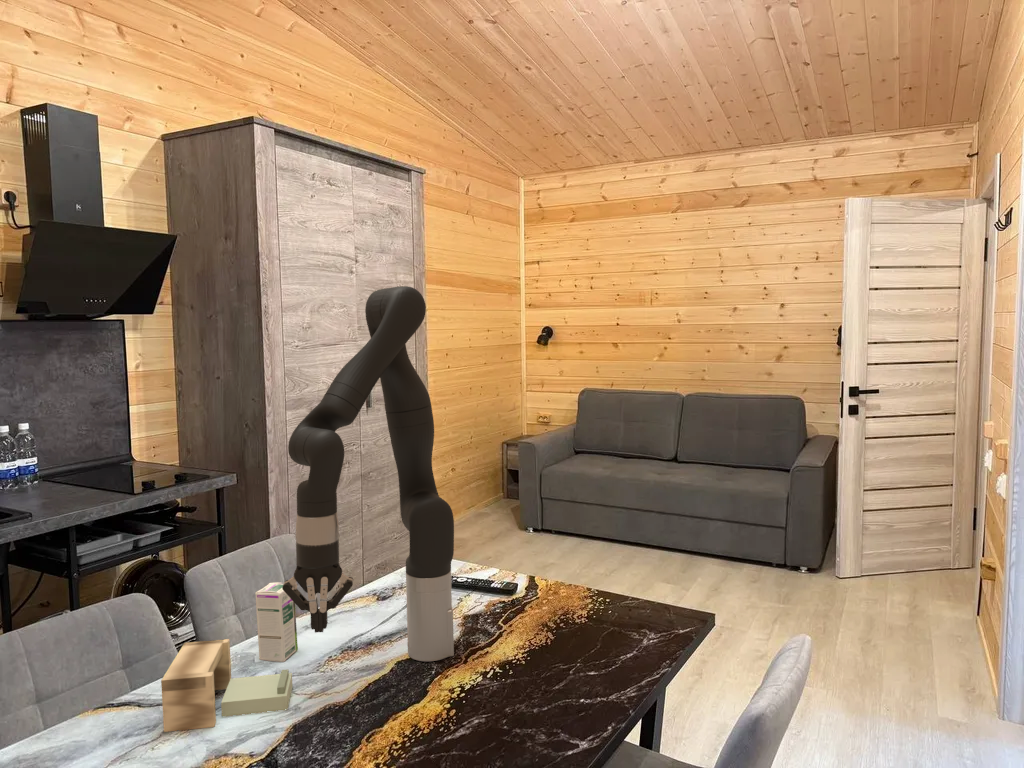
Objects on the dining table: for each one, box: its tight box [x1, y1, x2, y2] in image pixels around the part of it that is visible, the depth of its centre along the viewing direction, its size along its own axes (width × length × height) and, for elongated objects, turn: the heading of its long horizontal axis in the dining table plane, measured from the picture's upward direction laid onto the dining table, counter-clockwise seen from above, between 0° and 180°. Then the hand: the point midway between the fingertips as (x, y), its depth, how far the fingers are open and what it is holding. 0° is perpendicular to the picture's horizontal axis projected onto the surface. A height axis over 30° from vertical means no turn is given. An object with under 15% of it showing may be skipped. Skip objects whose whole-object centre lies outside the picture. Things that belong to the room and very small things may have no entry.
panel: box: [220, 669, 294, 717], centre depth 135 cm, size 11×9×4 cm
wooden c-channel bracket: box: [160, 638, 232, 733], centre depth 133 cm, size 8×15×9 cm, turn 10°
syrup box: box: [254, 581, 299, 663], centre depth 153 cm, size 6×6×14 cm
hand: (319, 630), depth 136 cm, fingers closed
